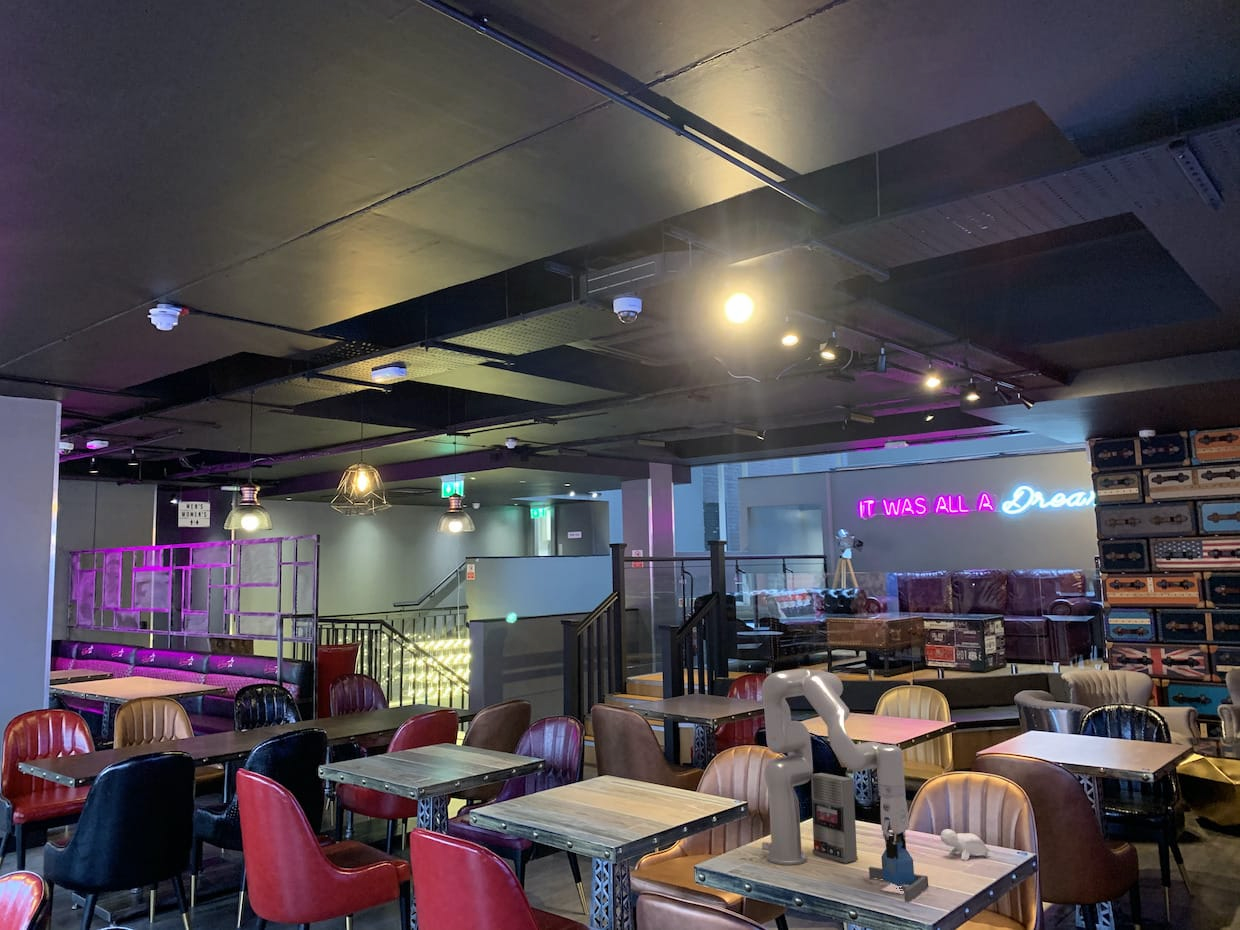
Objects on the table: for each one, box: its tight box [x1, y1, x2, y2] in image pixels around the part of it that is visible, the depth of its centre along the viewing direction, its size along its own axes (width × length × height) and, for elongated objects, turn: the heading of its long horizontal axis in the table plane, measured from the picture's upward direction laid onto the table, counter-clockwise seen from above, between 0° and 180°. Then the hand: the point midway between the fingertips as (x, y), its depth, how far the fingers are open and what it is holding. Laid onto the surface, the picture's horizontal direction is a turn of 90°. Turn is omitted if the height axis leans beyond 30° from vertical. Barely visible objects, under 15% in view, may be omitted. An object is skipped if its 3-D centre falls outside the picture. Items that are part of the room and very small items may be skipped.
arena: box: [868, 866, 929, 903], centre depth 252 cm, size 17×15×3 cm
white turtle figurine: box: [940, 828, 990, 862], centre depth 281 cm, size 9×8×15 cm
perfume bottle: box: [881, 835, 915, 886], centre depth 252 cm, size 6×6×12 cm
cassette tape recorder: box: [810, 772, 858, 864], centre depth 285 cm, size 14×6×25 cm, turn 35°
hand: (896, 855), depth 252 cm, fingers closed on perfume bottle, 5 cm apart
